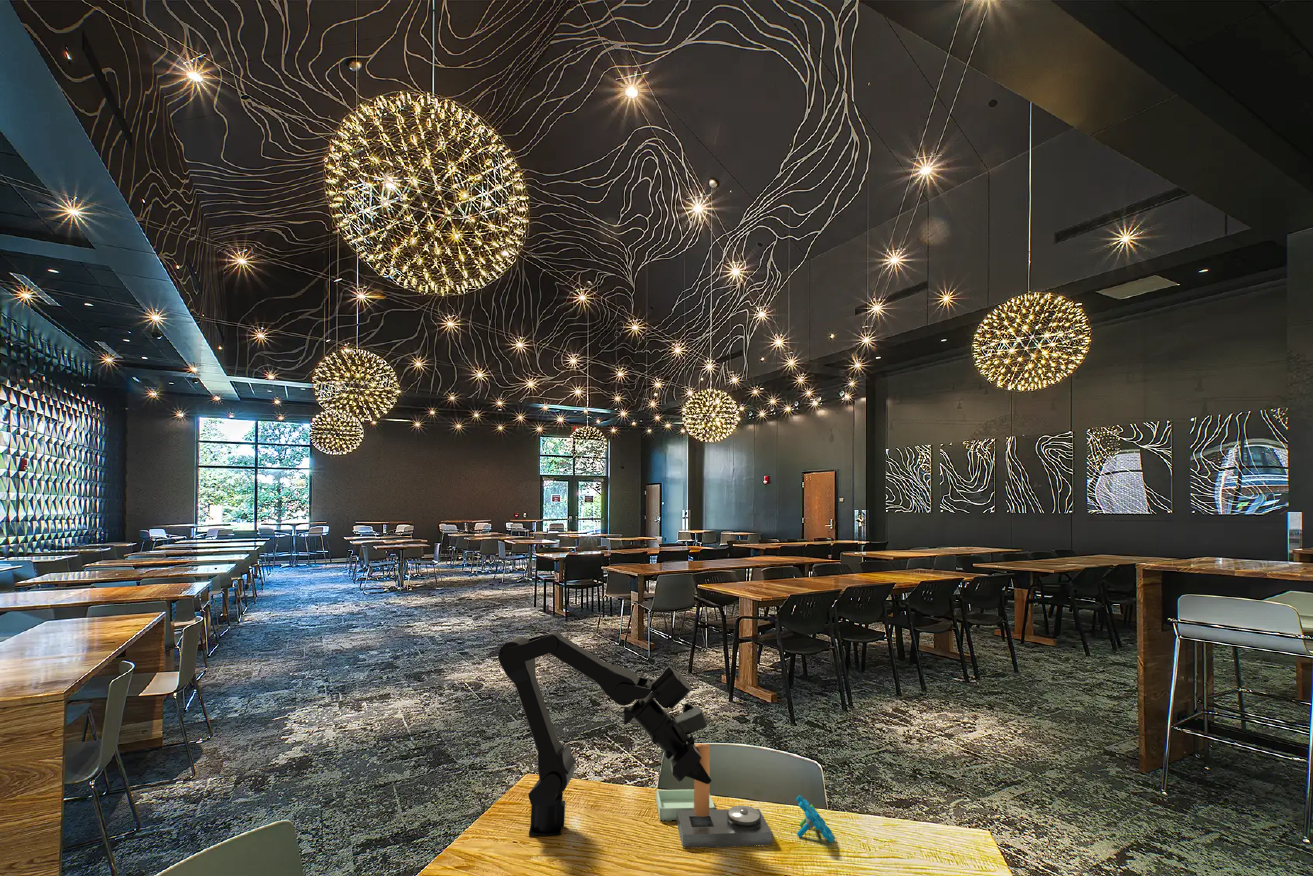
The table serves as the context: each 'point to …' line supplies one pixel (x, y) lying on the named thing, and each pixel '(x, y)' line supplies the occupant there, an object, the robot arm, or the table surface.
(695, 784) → the pin
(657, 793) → the tray
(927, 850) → the table surface
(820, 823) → the gear
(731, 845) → the plate
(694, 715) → the robot arm
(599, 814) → the table surface
